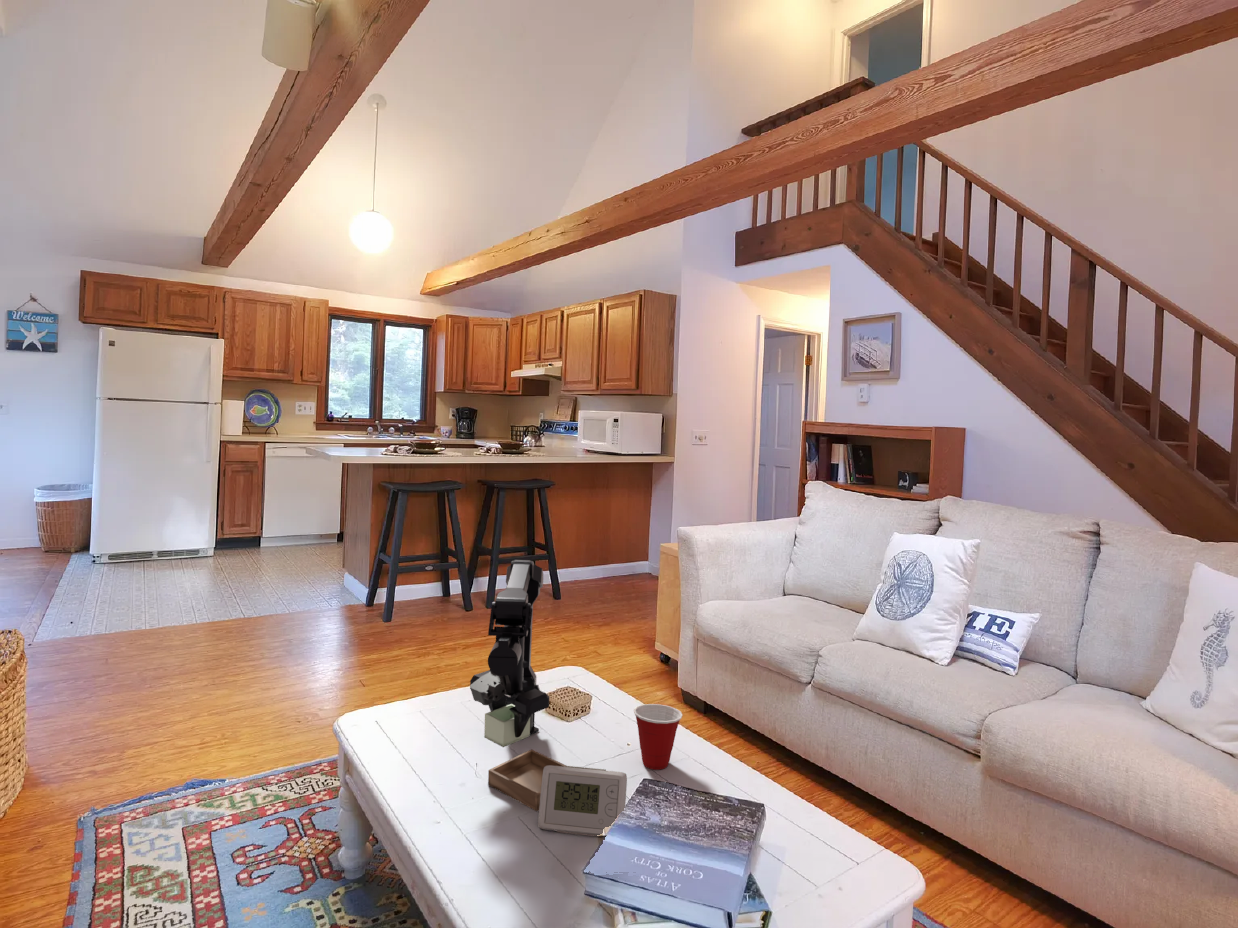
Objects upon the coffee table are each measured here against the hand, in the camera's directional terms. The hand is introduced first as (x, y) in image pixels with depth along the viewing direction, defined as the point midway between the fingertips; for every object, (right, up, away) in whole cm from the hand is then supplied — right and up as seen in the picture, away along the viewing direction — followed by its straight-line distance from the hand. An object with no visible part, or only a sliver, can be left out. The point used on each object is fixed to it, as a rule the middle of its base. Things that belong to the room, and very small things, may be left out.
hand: (507, 731), depth 143 cm
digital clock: (+16, -13, -14) cm, 25 cm away
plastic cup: (+31, -12, +12) cm, 35 cm away
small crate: (0, -1, 0) cm, 1 cm away
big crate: (+5, -11, 0) cm, 12 cm away
